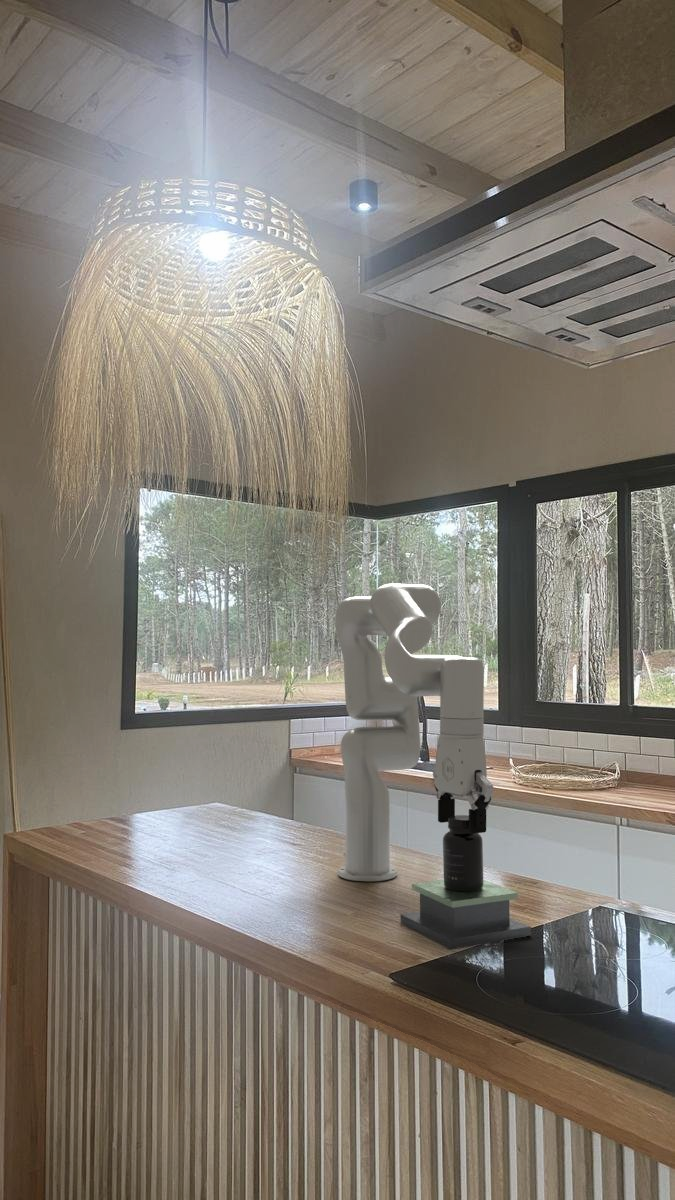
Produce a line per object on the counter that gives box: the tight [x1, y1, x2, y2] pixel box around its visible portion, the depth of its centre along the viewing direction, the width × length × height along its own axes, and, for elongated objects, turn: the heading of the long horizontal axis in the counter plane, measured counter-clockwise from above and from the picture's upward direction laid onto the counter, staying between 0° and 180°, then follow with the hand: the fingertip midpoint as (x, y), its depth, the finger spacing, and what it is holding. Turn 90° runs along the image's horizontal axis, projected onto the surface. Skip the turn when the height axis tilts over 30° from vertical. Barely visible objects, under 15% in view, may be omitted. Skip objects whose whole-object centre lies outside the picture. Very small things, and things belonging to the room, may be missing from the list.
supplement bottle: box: [442, 814, 484, 892], centre depth 156 cm, size 7×7×12 cm
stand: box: [400, 879, 532, 950], centre depth 155 cm, size 16×16×7 cm
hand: (461, 827), depth 156 cm, fingers open, 9 cm apart
